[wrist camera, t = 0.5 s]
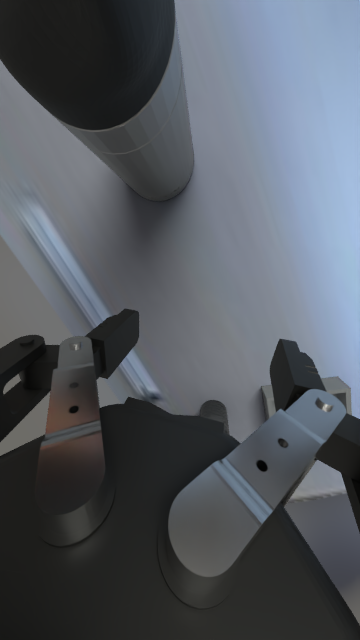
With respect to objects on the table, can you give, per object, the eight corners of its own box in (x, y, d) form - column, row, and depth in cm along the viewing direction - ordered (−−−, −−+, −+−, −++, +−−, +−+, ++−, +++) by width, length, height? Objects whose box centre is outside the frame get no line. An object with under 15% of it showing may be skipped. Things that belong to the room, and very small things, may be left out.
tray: (261, 386, 35) (266, 398, 32) (337, 376, 33) (350, 388, 30) (270, 443, 38) (275, 458, 35) (341, 436, 36) (353, 453, 33)
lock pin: (193, 399, 37) (188, 462, 26) (227, 395, 36) (236, 458, 25) (200, 426, 39) (197, 497, 27) (232, 423, 38) (243, 495, 26)
